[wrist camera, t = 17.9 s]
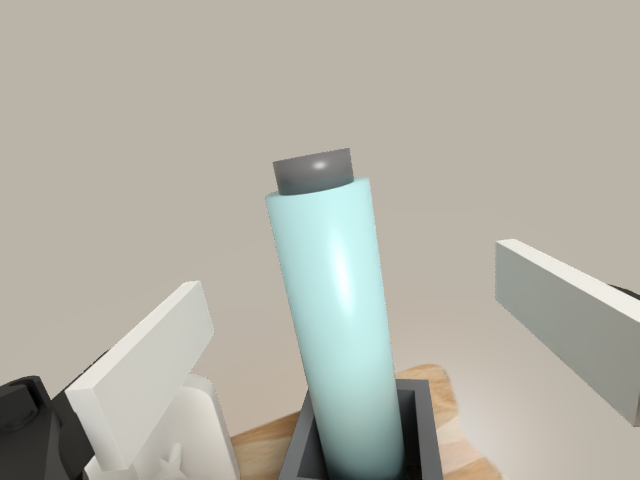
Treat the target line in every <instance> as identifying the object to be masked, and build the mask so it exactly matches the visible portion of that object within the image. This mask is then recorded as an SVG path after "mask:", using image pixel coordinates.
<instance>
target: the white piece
mask: <svg viewBox="0 0 640 480" xmlns="http://www.w3.org/2000/svg"><path fill="white" fill-rule="evenodd" d="M84 469H85V471H86V473H87V475H88V477H89V480H240V470H239V467H238V463H237V460H236V457H235V453H234V450H233V447H232V443H231V440H230V437H229V434H228V430H227V427H226V424H225V420H224V417H223V414H222V411H221V407H220V404H219V401H218V397H217V394H216V391H215V388H214V385H213V384H212V382H211V381H209V380H208V379H207V378H205V377H204V376H201V375H198V374H192V373H189V374H188V376H187V377H186V379H185V380H184V382H183V384H182V385H181V387H180V388H179V390H178V391H177V393H176V395H175V396H174V398H173V399H172V401H171V402H170V404H169V406H168V407H167V409H166V410H165V412H164V413H163V415H162V417H161V418H160V420H159V421H158V423H157V424H156V426H155V428H154V429H153V431H152V432H151V434H150V435H149V437H148V439H147V440H146V442H145V443H144V445H143V446H142V448H141V450H140V451H139V453H138V454H137V456H136V457H135V459H134V461H133V462H132V464H131V465H130V467H129V468H128V469H126V470H114V471H102V470H101V468H100V466H99V464H98V461H97V459H96V457H95V455H94V456H93V458H92V459H91V460H90V462H89V463H88V464H87V465H86V467H85V468H84Z"/></svg>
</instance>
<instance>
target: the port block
mask: <svg viewBox="0 0 640 480" xmlns="http://www.w3.org/2000/svg"><path fill="white" fill-rule="evenodd" d="M395 381H396V388H397V396H398V404H399V411H400V419H401V427H402V434H403V442H404V449H405V457H406V465H416V466H421V472H422V480H443V475H442V468H441V461H440V455H439V448H438V442H437V435H436V428H435V422H434V415H433V408H432V402H431V395H430V389H429V382H428V380H411V379H395ZM278 480H329V476H328V471H327V467H326V463H325V458H324V454H323V449H322V445H321V441H320V436H319V432H318V428H317V423H316V419H315V415H314V410H313V406H312V401H311V397H310V393H309V388H308V391H307V394H306V397H305V400H304V403H303V406H302V409H301V412H300V415H299V418H298V421H297V424H296V427H295V430H294V433H293V436H292V439H291V442H290V445H289V448H288V451H287V454H286V457H285V460H284V463H283V466H282V469H281V472H280V475H279V478H278Z"/></svg>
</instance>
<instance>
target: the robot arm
mask: <svg viewBox="0 0 640 480" xmlns="http://www.w3.org/2000/svg"><path fill="white" fill-rule="evenodd" d="M495 288H496V289H495V291H496V292H495V294H496V295H495V298H496V300H497V301H498V302H499V303H500V304H501V305H502V306H503V307H504V308H505V309H507V310H508V311H509V312H510V313H511V314H512V315H513V316H514V317H515V318H516V319H517V320H519V321H520V322H521V323H522V324H523V325H524V326H525V327H526V328H527V329H528V330H529V331H530V332H531V333H533V334H534V335H535V336H536V337H537V338H538V339H539V340H540V341H541V342H543V343H544V344H545V345H546V346H547V347H548V348H549V349H550V350H551V351H552V352H553V353H554V354H555V355H556V356H558V357H559V358H560V359H561V360H562V361H563V362H564V363H565V364H566V365H567V366H568V367H570V368H571V369H572V370H573V371H574V372H575V373H576V374H577V375H578V376H579V377H580V378H581V379H582V380H584V381H585V382H586V383H587V384H588V385H589V386H590V387H591V388H592V389H593V390H594V391H596V392H597V393H598V394H599V395H600V396H601V397H602V398H603V399H604V400H605V401H606V402H608V403H609V404H610V405H611V406H612V407H613V408H614V409H615V410H616V411H617V412H618V413H619V414H621V415H622V416H623V417H624V418H625V419H626V420H627V421H628V422H629V423H630V424H631V425H632V426H633V427H639V426H640V295H638V294H636V293H634V292H632V291H629V290H627V289H623V288H619V287H616V286H613V285H609V284H605V283H603V282H601V281H599V280H597V279H595V278H593V277H591V276H589V275H587V274H585V273H583V272H581V271H579V270H577V269H575V268H572V267H571V266H569V265H567V264H564V263H563V262H560V261H558V260H556V259H554V258H552V257H550V256H548V255H546V254H544V253H542V252H540V251H538V250H536V249H534V248H532V247H530V246H528V245H526V244H524V243H522V242H520V241H518V240H516V239H508V240H500V241H496V283H495ZM214 333H215V331H214V327H213V324H212V320H211V317H210V313H209V310H208V306H207V303H206V299H205V296H204V292H203V289H202V285H201V282H200V281H192V282H185V283H183V284H182V285H181V286H180V287H179V288H178V289H177V290H176V291H174V292H173V293H172V294H171V295H170V296H169V297H168V298H167V299H166V300H164V301H163V302H162V303H161V304H160V305H159V306H158V307H157V308H156V309H154V310H153V311H152V312H151V313H150V314H149V315H148V316H147V317H146V318H145V319H143V320H142V321H141V322H140V323H139V324H138V325H137V326H136V327H135V328H133V329H132V330H131V331H130V332H129V333H128V334H127V335H126V336H125V337H124V338H122V339H121V340H120V341H119V342H118V343H117V344H116V345H115V346H114V347H112V348H111V349H109V350H108V351H106V352H105V353H103V355H101V356H100V357H99V358H98V359H97V360H96V361H95V362H94V363H93V365H90V366H89V367H88V368H87V369H86V370H84V373H82V374H80V375H79V376H78V377H77V378H76V379H74V380H73V381H72V382H71V383H70V384H69V385H68V386H67V387H65V389H63V390H62V391H61V392H60V393H59V394H58V395H57V396H56V397H54V398H53V399H52V400H50V397H49V395H48V393H47V391H46V389H45V387H44V385H43V383H42V381H41V379H40V377H39V376H27V377H23V378H20V379H17V380H14V381H11V382H9V383H7V384H5V385H2V386H0V480H89V477H88V475H87V473H86V471H85V469H84V468H85V467H86V465H87V464H88V463H89V462H90V460H91V459H92V458H93V456H94V455H95V457H96V459H97V461H98V464H99V466H100V468H101V470H102V471H114V470H126V469H128V468H129V467H130V465H131V464H132V462H133V461H134V459H135V457H136V456H137V454H138V453H139V451H140V450H141V448H142V446H143V445H144V443H145V442H146V440H147V439H148V437H149V435H150V434H151V432H152V431H153V429H154V428H155V426H156V424H157V423H158V421H159V420H160V418H161V417H162V415H163V413H164V412H165V410H166V409H167V407H168V406H169V404H170V402H171V401H172V399H173V398H174V396H175V395H176V393H177V391H178V390H179V388H180V387H181V385H182V384H183V382H184V380H185V379H186V377H187V376H188V374H189V373H190V371H191V369H192V368H193V366H194V365H195V363H196V362H197V360H198V358H199V357H200V355H201V354H202V352H203V351H204V349H205V348H206V346H207V344H208V343H209V341H210V340H211V338H212V337H213V335H214Z"/></svg>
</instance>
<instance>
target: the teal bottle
mask: <svg viewBox="0 0 640 480" xmlns="http://www.w3.org/2000/svg"><path fill="white" fill-rule="evenodd" d="M273 167H274V171H275V176H276V180H277V185H278V190H279V191H277V192H274V193H271V194H269V195H267V196H266V197H265V200H266V205H267V209H268V214H269V218H270V222H271V227H272V231H273V236H274V240H275V244H276V248H277V253H278V257H279V262H280V266H281V271H282V275H283V279H284V284H285V288H286V292H287V296H288V301H289V305H290V310H291V314H292V318H293V323H294V327H295V332H296V336H297V340H298V344H299V349H300V353H301V358H302V362H303V366H304V371H305V375H306V380H307V384H308V388H309V393H310V397H311V401H312V406H313V410H314V415H315V419H316V423H317V428H318V432H319V436H320V441H321V445H322V449H323V454H324V458H325V463H326V467H327V471H328V476H329V480H408V472H407V465H406V457H405V449H404V442H403V434H402V427H401V419H400V411H399V404H398V396H397V388H396V381H395V373H394V366H393V358H392V351H391V342H390V335H389V328H388V320H387V312H386V304H385V297H384V289H383V282H382V274H381V266H380V259H379V251H378V243H377V236H376V228H375V220H374V212H373V205H372V197H371V190H370V182H369V178H368V177H354V176H353V170H352V163H351V156H350V149H349V148H346V149H339V150H334V151H329V152H322V153H317V154H312V155H306V156H301V157H295V158H291V159H285V160H280V161H276V162H273Z"/></svg>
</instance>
